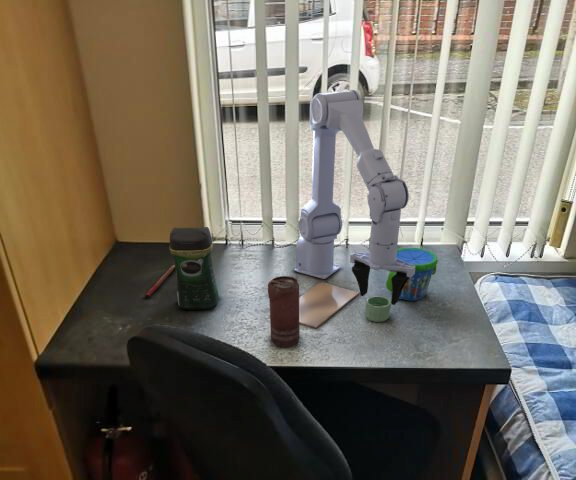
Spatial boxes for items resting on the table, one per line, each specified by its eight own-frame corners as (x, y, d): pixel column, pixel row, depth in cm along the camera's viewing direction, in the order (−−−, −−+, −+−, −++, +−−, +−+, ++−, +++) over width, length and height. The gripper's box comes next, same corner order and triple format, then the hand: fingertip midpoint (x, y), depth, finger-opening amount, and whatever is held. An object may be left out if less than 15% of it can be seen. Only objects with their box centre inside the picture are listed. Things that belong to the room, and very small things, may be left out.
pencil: (149, 298, 139) (148, 294, 139) (145, 297, 140) (144, 294, 139) (177, 266, 154) (177, 262, 154) (174, 265, 154) (173, 262, 154)
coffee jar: (220, 295, 140) (213, 221, 129) (217, 311, 134) (209, 234, 123) (181, 296, 140) (170, 222, 129) (175, 311, 134) (164, 235, 123)
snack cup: (417, 279, 146) (422, 241, 140) (448, 294, 139) (455, 255, 133) (370, 295, 139) (373, 256, 133) (400, 312, 132) (405, 271, 126)
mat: (275, 315, 132) (275, 314, 131) (320, 283, 145) (320, 281, 145) (316, 328, 126) (316, 327, 126) (358, 293, 140) (359, 292, 140)
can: (268, 334, 125) (266, 275, 117) (297, 332, 125) (297, 274, 117) (270, 349, 120) (268, 289, 112) (300, 347, 120) (300, 287, 112)
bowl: (360, 319, 130) (361, 303, 127) (371, 309, 133) (373, 293, 131) (382, 325, 127) (384, 309, 125) (393, 315, 131) (395, 299, 129)
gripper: (344, 239, 120) (341, 297, 128) (408, 254, 114) (401, 314, 121) (360, 229, 125) (356, 285, 133) (422, 242, 118) (414, 301, 126)
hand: (378, 298), depth 128 cm, fingers open, 7 cm apart
